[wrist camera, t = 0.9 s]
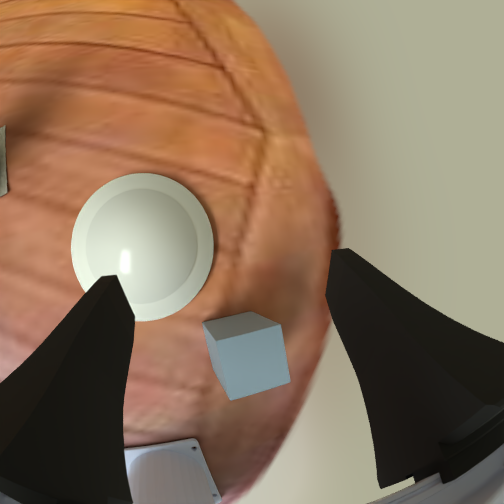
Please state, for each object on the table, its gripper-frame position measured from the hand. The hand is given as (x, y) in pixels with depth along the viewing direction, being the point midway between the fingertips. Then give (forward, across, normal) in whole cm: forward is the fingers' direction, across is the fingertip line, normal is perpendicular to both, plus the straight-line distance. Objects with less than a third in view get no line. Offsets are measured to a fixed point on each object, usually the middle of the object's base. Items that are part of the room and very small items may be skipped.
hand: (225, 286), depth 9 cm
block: (+7, 0, +12) cm, 14 cm away
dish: (+11, +6, +5) cm, 13 cm away
